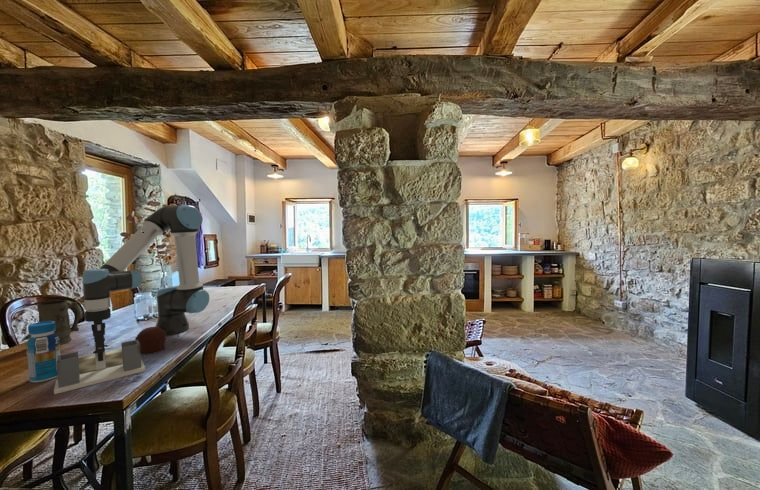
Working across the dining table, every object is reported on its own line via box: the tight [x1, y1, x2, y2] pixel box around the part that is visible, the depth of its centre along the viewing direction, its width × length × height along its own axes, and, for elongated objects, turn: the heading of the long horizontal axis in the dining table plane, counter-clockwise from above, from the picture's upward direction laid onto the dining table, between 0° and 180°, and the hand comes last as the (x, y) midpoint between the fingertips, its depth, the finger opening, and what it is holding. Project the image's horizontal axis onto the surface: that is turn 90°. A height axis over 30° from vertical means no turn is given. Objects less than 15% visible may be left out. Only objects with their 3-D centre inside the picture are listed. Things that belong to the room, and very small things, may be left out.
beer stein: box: [36, 300, 82, 346], centre depth 152 cm, size 15×11×20 cm
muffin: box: [134, 326, 167, 355], centre depth 139 cm, size 12×11×10 cm
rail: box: [78, 348, 123, 374], centre depth 124 cm, size 17×4×5 cm, turn 133°
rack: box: [53, 339, 146, 395], centre depth 115 cm, size 24×10×10 cm, turn 133°
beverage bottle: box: [25, 321, 61, 383], centre depth 115 cm, size 8×8×20 cm
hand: (100, 363), depth 123 cm, fingers open, 13 cm apart
